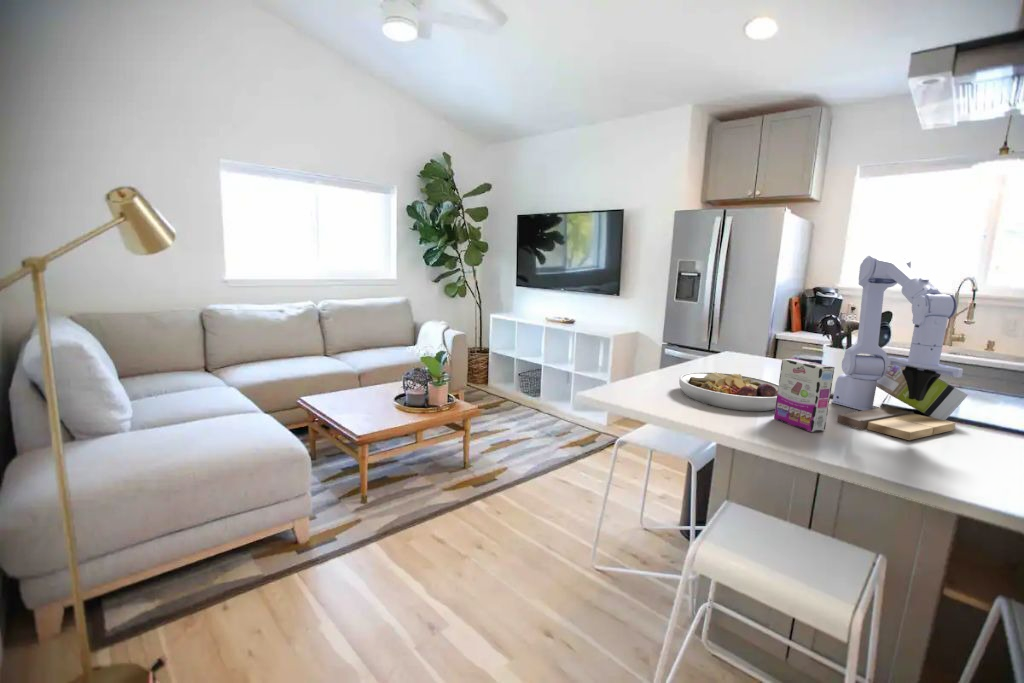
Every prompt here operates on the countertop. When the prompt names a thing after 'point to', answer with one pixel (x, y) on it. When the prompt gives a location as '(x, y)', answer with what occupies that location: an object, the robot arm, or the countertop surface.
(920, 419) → the plank
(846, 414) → the floor board
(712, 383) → the bowl
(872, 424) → the plank
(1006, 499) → the countertop surface
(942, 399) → the tea box
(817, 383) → the candy bar box
